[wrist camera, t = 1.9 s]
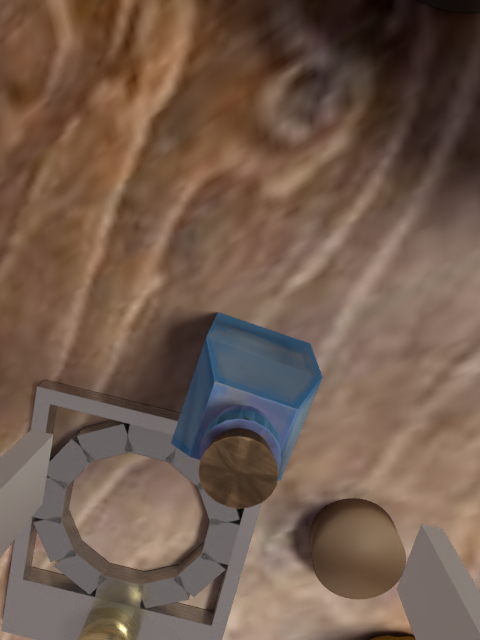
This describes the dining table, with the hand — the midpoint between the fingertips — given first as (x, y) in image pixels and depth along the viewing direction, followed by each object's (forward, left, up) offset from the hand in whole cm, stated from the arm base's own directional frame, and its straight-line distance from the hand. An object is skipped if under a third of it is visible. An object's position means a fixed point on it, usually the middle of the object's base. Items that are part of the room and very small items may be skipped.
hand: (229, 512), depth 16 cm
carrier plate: (+14, -5, -14) cm, 20 cm away
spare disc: (+10, +10, -14) cm, 20 cm away
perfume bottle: (0, 0, -14) cm, 14 cm away
